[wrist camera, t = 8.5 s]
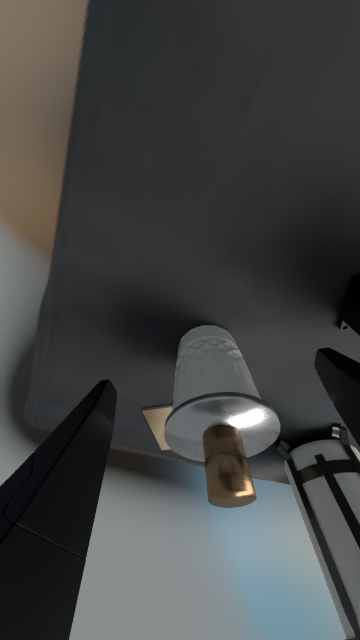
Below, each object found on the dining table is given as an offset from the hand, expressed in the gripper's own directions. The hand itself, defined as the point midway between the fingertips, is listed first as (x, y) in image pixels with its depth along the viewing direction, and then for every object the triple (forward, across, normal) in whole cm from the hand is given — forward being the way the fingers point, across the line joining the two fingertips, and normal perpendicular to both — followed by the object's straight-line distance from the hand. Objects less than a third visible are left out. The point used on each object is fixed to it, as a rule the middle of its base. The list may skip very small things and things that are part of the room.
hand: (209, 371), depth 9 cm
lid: (+3, 0, +10) cm, 10 cm away
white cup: (+13, 0, +10) cm, 17 cm away
